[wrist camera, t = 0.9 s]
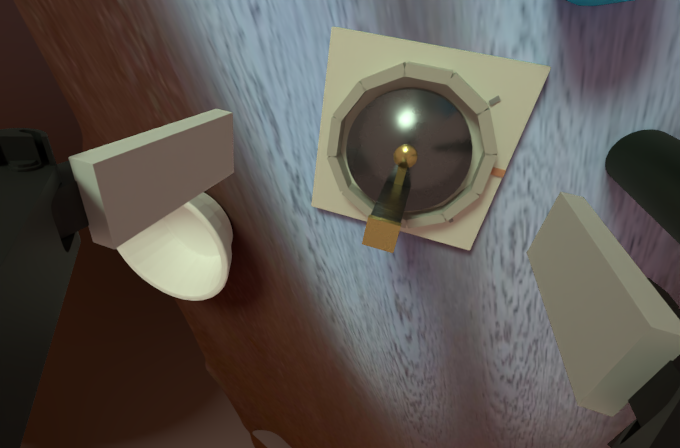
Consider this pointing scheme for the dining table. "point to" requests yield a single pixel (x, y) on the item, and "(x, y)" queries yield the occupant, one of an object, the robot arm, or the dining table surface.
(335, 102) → the dial board
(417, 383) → the dining table surface
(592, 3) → the mug
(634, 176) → the wine bottle
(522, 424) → the dining table surface
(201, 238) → the bowl
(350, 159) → the dial
